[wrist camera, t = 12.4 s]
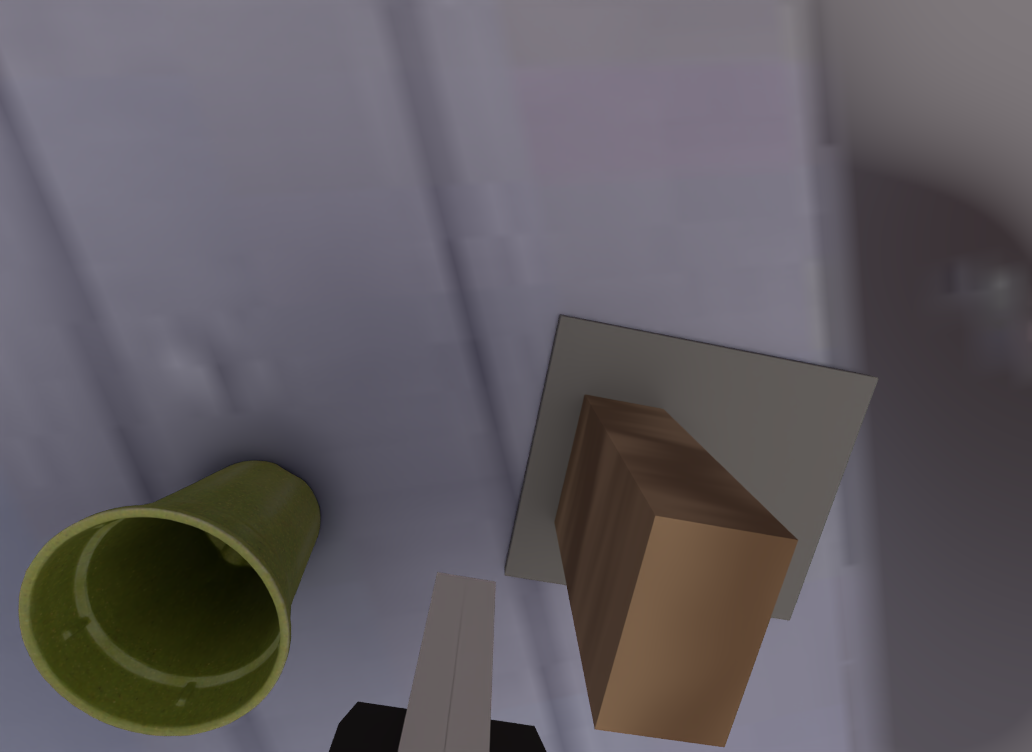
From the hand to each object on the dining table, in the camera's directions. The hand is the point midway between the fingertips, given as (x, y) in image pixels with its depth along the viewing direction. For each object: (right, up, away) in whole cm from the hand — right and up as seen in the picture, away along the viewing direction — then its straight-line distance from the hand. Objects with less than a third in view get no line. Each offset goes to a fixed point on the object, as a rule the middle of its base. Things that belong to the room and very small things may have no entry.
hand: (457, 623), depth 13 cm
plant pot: (-12, -1, +14) cm, 18 cm away
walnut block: (+6, +2, +13) cm, 14 cm away
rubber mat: (+10, +1, +14) cm, 17 cm away
